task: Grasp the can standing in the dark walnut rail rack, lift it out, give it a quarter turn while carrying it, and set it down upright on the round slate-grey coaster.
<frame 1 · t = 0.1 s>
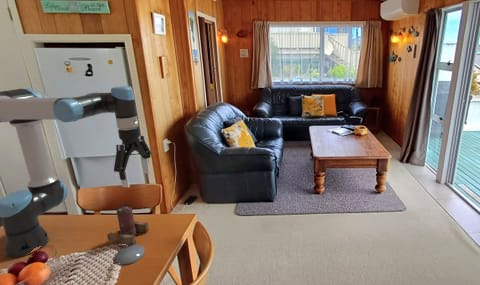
hand: (137, 179, 116), 28 cm above the table, fingers open, 13 cm apart
rack: (129, 236, 127), on the table
can: (129, 237, 127), on the table
coaster: (130, 255, 115), on the table
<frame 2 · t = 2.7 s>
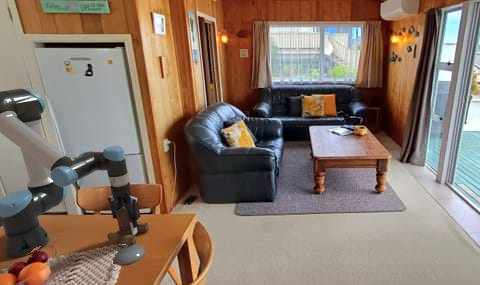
hand: (129, 232, 126), 2 cm above the table, fingers open, 5 cm apart
can: (129, 236, 127), on the table, touching gripper
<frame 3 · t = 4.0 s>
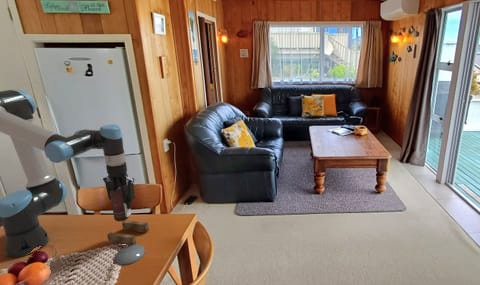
hand: (124, 214, 124), 11 cm above the table
can: (122, 218, 125), point 9 cm above the table, touching gripper, hand
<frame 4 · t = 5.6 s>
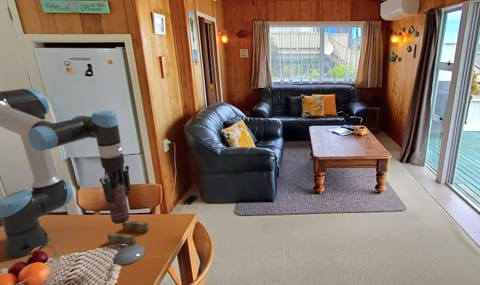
hand: (122, 213, 110), 18 cm above the table
can: (121, 220, 109), point 16 cm above the table, touching gripper, hand
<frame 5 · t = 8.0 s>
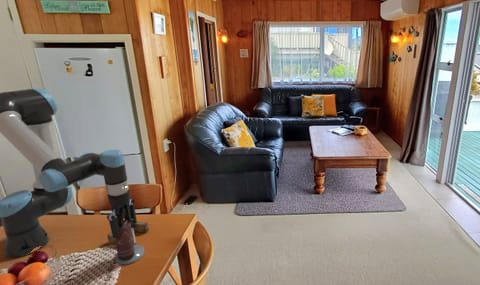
hand: (128, 246, 114), 4 cm above the table, fingers open, 4 cm apart
can: (126, 256, 113), point 1 cm above the table, touching coaster
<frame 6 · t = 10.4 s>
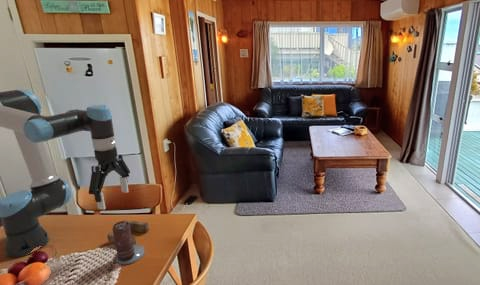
hand: (114, 200, 113), 22 cm above the table, fingers open, 13 cm apart
nothing on the table moved.
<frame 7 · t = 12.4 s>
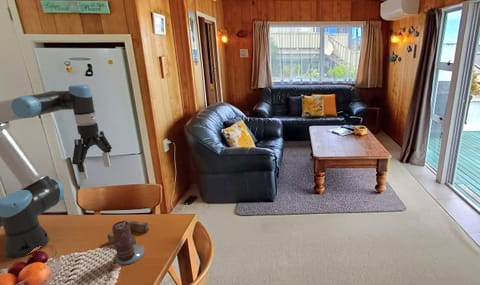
hand: (97, 172, 124), 29 cm above the table, fingers open, 13 cm apart
nothing on the table moved.
at the end: can 1.9 cm from the coaster (horizontally); can tilted 0°; the gripper is holding nothing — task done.
